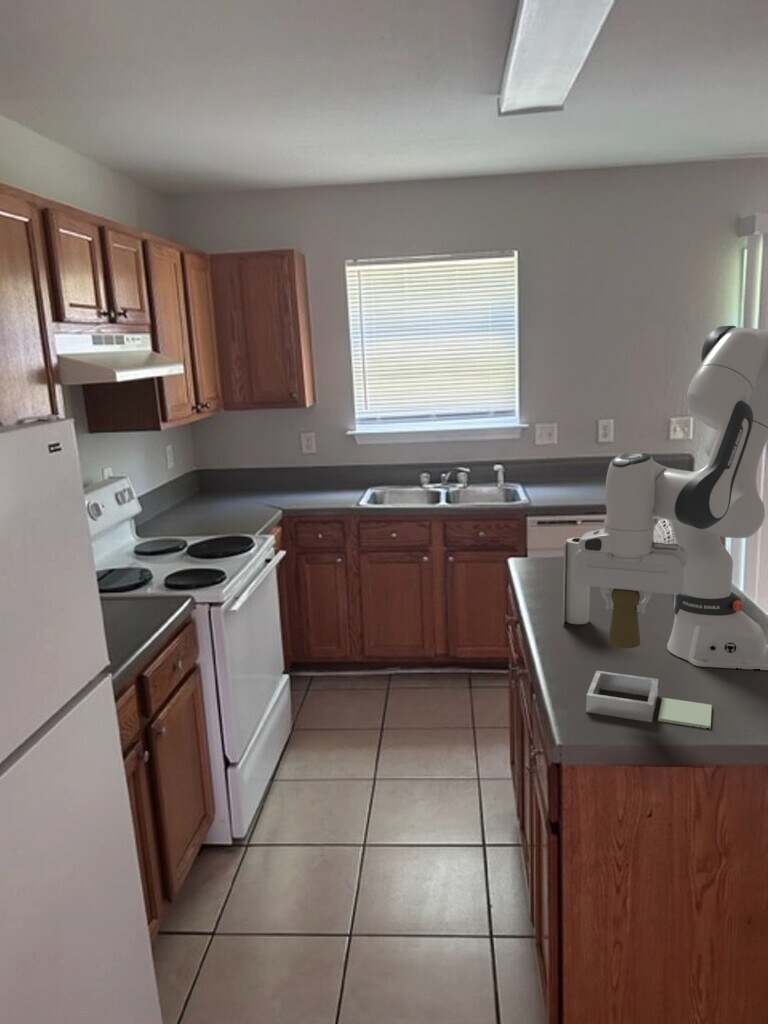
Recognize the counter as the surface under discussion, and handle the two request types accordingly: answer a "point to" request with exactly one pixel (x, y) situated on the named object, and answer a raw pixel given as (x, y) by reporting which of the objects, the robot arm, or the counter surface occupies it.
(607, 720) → the counter surface
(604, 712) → the frame
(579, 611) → the paper towel roll
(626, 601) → the olive green rounded piece
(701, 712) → the green pad
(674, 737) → the counter surface
